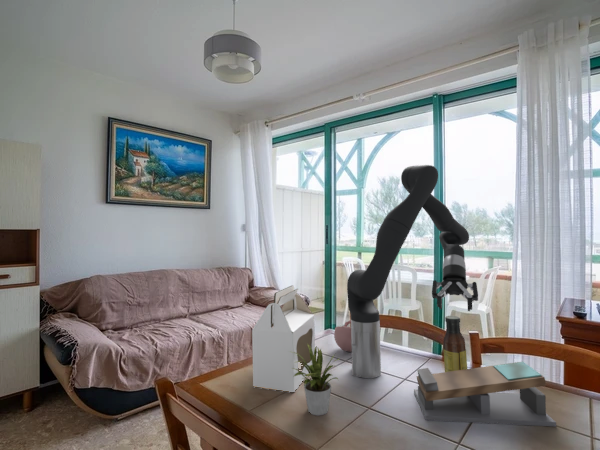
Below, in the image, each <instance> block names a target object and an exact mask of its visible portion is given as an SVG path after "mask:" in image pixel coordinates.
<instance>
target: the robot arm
mask: <svg viewBox="0 0 600 450" xmlns="http://www.w3.org/2000/svg"><path fill="white" fill-rule="evenodd" d="M438 180H439V171H438V169H437V167H435V166H433V165H432V164H431V165H430V164H418V165H417V164H416V165H409V166H407V167H405V168H404V169H403V171H402V173H401V176H400V181H401V184H402V186H403V188H404V189H405V190H406V192H408V196H406V198H405V199H403V200H402V201H401V202H400V203H399V204H397V205H396V206H395V207H394V208H393V209H392V210H390V212H388V213H387V215H386V216H385V217H384V219H383V221H382V223H381V225H380V227H379V229H378V230H377V235H376V241H375V249H374V250H375V251H374V255H373V257H372V259H371V260H370V263H369V264H368V266H367V268H366V269H355V270H354V271H352V272H351V273H350V274H349V276H348V279H347V283H346V284H347V285H346V292H347V303H348V304H347V306H348V311H349V313H350V320H351V323H350V327H351V339H352V340H351V345H352V352H351V372H352V376H355V377H359V378H364V379H372V378H373V379H374V378H378V377H379V376H381V374H382V364H381V363H382V362H381V360H382V358H381V325H380V323H381V322H380V312H379V310H378V308H377V307H376V305H375V303H374V300H376V299H378V298H379V297H380V296H381V294H382V292H383V291H384V288H385V286H386V283H387V280H388V278H389V276H390V272H391V270H392V268H393V265H394V263H395V261H396V259H397V257H398V255H399V253H400V251H401V249H402V247H403V245H404V243H405V241H406V239H407V237H408V235H409V234H410V232H411V229H412V227H413V226H414V223H415V221H416V219H417V218H418V216H419V213H420V212H421V210H422V209H423V210H424V211H425V213H426V214H427V215H428V216H429V218H430V219H431V222H433V224H434V226H435V227H436V229H437V231H440V233H439V238H438V239H439V242H440V244H441V247H442V250H443V262H442V281H441V282H439V281H437V280H434V279H433V281H432V288H431V298H432V299H436V304H437V305H436V306H437V308H439V310H443V306H442V305H443V299H444V298H445V297H447V295H449V296H462V297H463V298H464V299H466V301H467V312H471V310H473V302H474V301H475V302H477V301H479V291H478V286H477V285H478V284H477V282H476V281H473V282H472V283H468V282H467V269H466V268H467V267H466V262H465V261H466V260H465V250H464V247H463V245H465V244H467V243H468V242H469V241H470V234H469V231H468V230H467V228H465V227H464V226H463V225H462V224H461V223H459V221H457V220H456V219H455V217H454V216H453V214H452V213H451V211H450V209H449V208H448V207H447V206H446V205H445V204H444V203H443V202H442V201H441V200H440V199H438V198H437V197H436V196H435V195H433V194H432V193H433V191H434V190H435V189H436V185H437V184H438ZM440 287H441V289H440V291H439V292H438V291H437V290H438V289H439V288H440ZM468 288H469V289H470V291H472V294H471V293H470V292H469V291H468V290H467V289H468ZM437 292H438V293H437Z"/></svg>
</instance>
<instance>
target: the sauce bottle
mask: <svg viewBox="0 0 600 450" xmlns="http://www.w3.org/2000/svg"><path fill="white" fill-rule="evenodd" d="M444 321H445V325H446V328H445V330H446V332H445V335H444V337H443V342H442V343H443V345H442V347H443V348H442V349H443V361H444V362H443V363H444V372H450V371H457V370H465V369H468V361H467V360H468V359H467V348H466V340H465V337H464V336H463V334H462V332H461V326H460V325H461V324H460V323H461V318H460V317H459V316H457V315H447V316H445V318H444Z"/></svg>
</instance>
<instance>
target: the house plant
mask: <svg viewBox="0 0 600 450" xmlns="http://www.w3.org/2000/svg"><path fill="white" fill-rule="evenodd" d="M307 345H308V344H307ZM308 348H309V352H310V358H311V361H312V365H310V366H308V365H307V363H306V362H305V360H304V359H303V358H302V357H301V356H300V355H299V354H298V355H299V356H300V357H301V358H302V359H303V360H304V362H305V363H304V362H303V363H304V364H305V365H304V364H302V365H304V366H305V368H306V369H307V370H308V372H309V374H305V373H303V372H300V371H299V370H298V369H296V370H297V371H298V373H296V374H295V375H294V376H297V375H300V374H301V375H302V376H303V377H305V376H306V377H305V379H304V378H302V379H304V380H303V382H304V384H303V388H304V394H305V400H306V405H307V411H308V413H309V412H310V413H311V414H310V413H309V414H310V415H313V416H323V415H326V414H327V413H328V412H329V407H330V398H331V392H332V385H331V383H330V381H331V380H332V381H333V379H335V380H338V381H339V378H338V377H333V374H332V373H328V371H329V370H330V369H331V368H333V367H334V365H333V364H331V361H332V360H333V358H335V357H334V356H335V355H336V354H337V353H336V352H335V354H334V355H333V356H332V357H331V358H330V360H329V362H328V363H327V364H326V366H325V368H324V370H323V361H324V360H323V359H324V358H323V357H324V356H323V351H322V348H320V349H319V348H318V347H317V346H316V345H315V350H314V355H313V351H312V348H311V347H310V346H309V345H308ZM292 353H295V352H292ZM296 354H297V353H296ZM298 355H297V356H298ZM338 360H339V358H337V359H335V360H334V362H336V361H338ZM297 362H301V361H297ZM294 363H295V362H294ZM329 364H330V365H329ZM307 367H308V368H307ZM293 369H295V368H293ZM309 370H310V371H309ZM322 370H323V373H322ZM303 374H305V375H303ZM294 376H293V377H294ZM331 376H332V378H330V379H329V377H331ZM328 379H329V380H328Z"/></svg>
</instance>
